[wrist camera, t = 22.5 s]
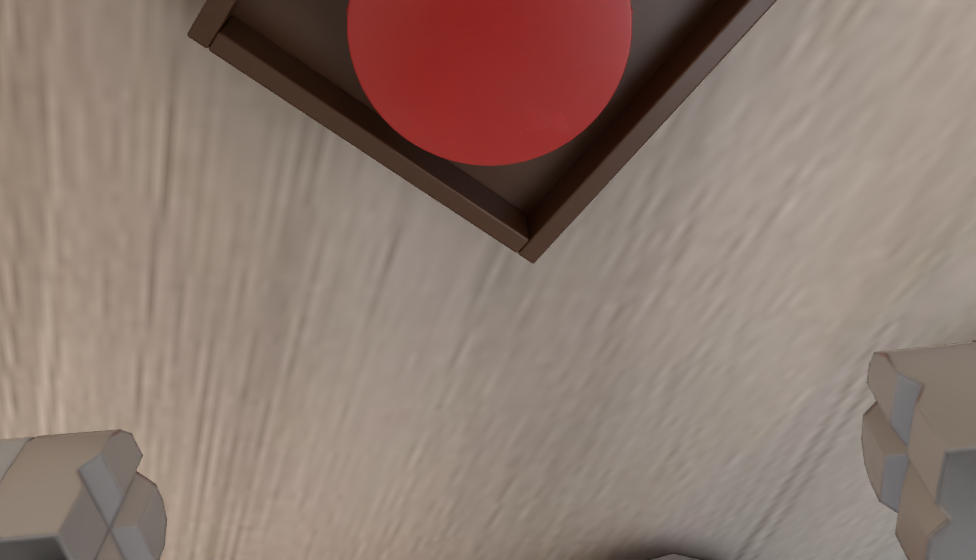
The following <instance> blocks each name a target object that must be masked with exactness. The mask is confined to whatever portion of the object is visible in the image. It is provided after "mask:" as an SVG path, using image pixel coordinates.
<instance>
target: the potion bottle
mask: <svg viewBox="0 0 976 560" xmlns="http://www.w3.org/2000/svg"><path fill="white" fill-rule="evenodd" d="M651 560H699V559H695V558H690V557H686V556H681V555H677V554H670V555H666V556H663V557H659V558H655V559H651Z"/></svg>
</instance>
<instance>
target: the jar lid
mask: <svg viewBox="0 0 976 560" xmlns="http://www.w3.org/2000/svg"><path fill="white" fill-rule="evenodd" d="M346 13H347V39H348V45H349V52H350V56H351V60H352V63H353V67H354V70H355V73H356V75H357V78H358V80H359V82H360V85H361V87H362V89H363V91H364V92H365V94H366V96H367V97H368V99H369V101H370V103H371V104H372V105H373V107H374V108H375V109H376V110H377V112H378V113H379V114H380V116H381V117H382V118H383V119H384V120H385V121H386V122H387V123H388V124H389V125H390V126H391V127H392V128H393V129H394V130H395V131H396V132H398V133H399V134H400V135H402V136H403V137H404V138H405V139H407V140H408V141H410V142H411V143H413V144H415V145H416V146H418V147H420V148H421V149H423V150H425V151H427V152H430V153H432V154H434V155H436V156H439V157H442V158H445V159H448V160H451V161H455V162H460V163H465V164H470V165H484V166H495V165H508V164H514V163H519V162H524V161H528V160H531V159H534V158H537V157H540V156H543V155H545V154H547V153H549V152H552V151H554V150H556V149H558V148H559V147H561V146H563V145H564V144H566V143H568V142H569V141H571V140H572V139H573V138H575V137H576V136H577V135H579V134H580V133H581V132H583V131H584V130H585V129H586V128H587V127H588V126H589V125H590V124H591V123H592V122H593V121H594V120H595V119H596V118H597V117H598V116H599V114H600V113H601V112H602V110H603V109H604V108H605V107H606V105H607V104H608V103H609V101H610V99H611V98H612V96H613V94H614V93H615V91H616V89H617V87H618V85H619V83H620V80H621V78H622V76H623V73H624V71H625V67H626V64H627V61H628V57H629V53H630V47H631V40H632V19H633V18H632V13H633V9H632V7H631V0H349V3H348V6H347V8H346Z"/></svg>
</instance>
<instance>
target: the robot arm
mask: <svg viewBox="0 0 976 560" xmlns="http://www.w3.org/2000/svg"><path fill="white" fill-rule="evenodd" d="M867 384H868V386H869V388H870V389H871V391H872V393H873V395H874V397H875V399H876V400H877V401H876V402H875V403H874V404H873V405H872V406H871V407H870V408H869V409H868V410H867V411H866V413H865V414H864V415H863V424H862V438H861V440H862V448H863V456H864V463H865V467H866V470H867V473H868V477H869V480H870V483H871V485H872V487H873V489H874V491H875V494H876V496H877V498H878V500H879V502H881V503H883V504H884V505H886V506H887V507H889V508H890V509H892V510H893V511H895V512H897V513H898V518H897V525H896V533H895V535H896V537H897V539H898V541H899V543H900V545H901V547H902V549H903V551H904V553H905V555H906V557H907V559H908V560H976V340H973V341H972V342H962V343H953V344H944V345H935V346H925V347H916V348H907V349H898V350H889V351H879V352H874V354H873V356H872V358H871V361H870V363H869V369H868V377H867ZM142 457H143V454H142V453H141V451H140V449H139V447H138V445H137V443H136V441H135V439H134V437H133V435H132V434H131V433H129V432H126V431H123V430H120V429H119V430H106V431H94V432H81V433H69V434H56V435H44V436H37V437H26V438H15V439H4V440H0V560H160V557H161V554H162V552H163V549H164V546H165V536H166V524H167V518H166V513H165V507H164V502H163V499H162V497H161V494H160V492H159V490H158V487H157V485H156V484H155V483H153V482H152V481H150V480H149V479H147V478H146V477H144V476H143V475H142V474H140V473H139V472H137V468H138V466H139V464H140V461H141V459H142Z"/></svg>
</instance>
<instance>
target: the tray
mask: <svg viewBox="0 0 976 560" xmlns="http://www.w3.org/2000/svg"><path fill="white" fill-rule="evenodd" d="M776 1H777V0H631V7H632V9H633V13H632V18H633V19H632V40H631V47H630V53H629V57H628V61H627V64H626V67H625V71H624V73H623V76H622V78H621V80H620V83H619V85H618V87H617V89H616V91H615V93H614V94H613V96H612V98H611V99H610V101H609V103H608V104H607V105H606V107H605V108H604V109H603V110H602V112H601V113H600V114H599V116H598V117H597V118H596V119H595V120H594V121H593V122H592V123H591V124H590V125H589V126H588V127H587V128H586V129H585V130H584V131H583V132H581V133H580V134H579V135H577V136H576V137H575V138H573V139H572V140H571V141H569V142H568V143H566V144H564V145H563V146H561V147H559V148H558V149H556V150H554V151H552V152H549V153H547V154H545V155H543V156H540V157H537V158H534V159H531V160H528V161H524V162H519V163H514V164H508V165H495V166H484V165H470V164H465V163H460V162H455V161H451V160H448V159H445V158H442V157H439V156H436V155H434V154H432V153H430V152H427V151H425V150H423V149H421V148H420V147H418V146H416V145H415V144H413V143H411V142H410V141H408V140H407V139H405V138H404V137H403V136H402V135H400V134H399V133H398V132H396V131H395V130H394V129H393V128H392V127H391V126H390V125H389V124H388V123H387V122H386V121H385V120H384V119H383V118H382V117H381V116H380V114H379V113H378V112H377V110H376V109H375V108H374V107H373V105H372V104H371V103H370V101H369V99H368V97H367V96H366V94H365V92H364V91H363V89H362V87H361V85H360V82H359V80H358V78H357V75H356V73H355V70H354V67H353V63H352V60H351V56H350V52H349V45H348V39H347V13H346V8H347V6H348V3H349V0H206V2H205V4H204V6H203V7H202V9H201V11H200V12H199V14H198V16H197V18H196V19H195V21H194V23H193V24H192V26H191V28H190V30H189V31H188V34H187V35H188V37H190V38H191V39H193V40H194V41H196V42H197V43H199V44H200V45H202V46H203V47H205V48H208V47H209V50H210V51H211V52H212V53H214V54H215V55H217V56H218V57H220V58H222V59H223V60H225V61H226V62H228V63H229V64H231V65H232V66H234V67H235V68H237V69H238V70H240V71H241V72H243V73H244V74H246V75H247V76H249V77H250V78H252V79H253V80H255V81H256V82H258V83H259V84H261V85H262V86H264V87H266V88H267V89H269V90H270V91H272V92H273V93H275V94H276V95H278V96H279V97H281V98H282V99H284V100H285V101H287V102H288V103H290V104H291V105H293V106H294V107H296V108H297V109H299V110H300V111H302V112H303V113H305V114H306V115H308V116H310V117H311V118H313V119H314V120H316V121H317V122H319V123H320V124H322V125H323V126H325V127H326V128H328V129H329V130H331V131H332V132H334V133H335V134H337V135H338V136H340V137H341V138H343V139H344V140H346V141H347V142H349V143H350V144H352V145H354V146H355V147H357V148H358V149H360V150H361V151H363V152H364V153H366V154H367V155H369V156H370V157H372V158H373V159H375V160H376V161H378V162H379V163H381V164H382V165H384V166H385V167H387V168H388V169H390V170H391V171H393V172H394V173H396V174H398V175H399V176H401V177H402V178H404V179H405V180H407V181H408V182H410V183H411V184H413V185H414V186H416V187H417V188H419V189H420V190H422V191H423V192H425V193H426V194H428V195H429V196H431V197H432V198H434V199H435V200H437V201H438V202H440V203H442V204H443V205H445V206H446V207H448V208H449V209H451V210H452V211H454V212H455V213H457V214H458V215H460V216H461V217H463V218H464V219H466V220H467V221H469V222H470V223H472V224H473V225H475V226H476V227H478V228H479V229H481V230H482V231H484V232H486V233H487V234H489V235H490V236H492V237H493V238H495V239H496V240H498V241H499V242H501V243H502V244H504V245H505V246H507V247H508V248H510V249H511V250H513V251H514V252H516V253H517V252H518V254H519V255H520V256H522V257H524V258H525V259H527V260H528V261H530V262H531V263H535V261H536V260H537V259H538V258H539V257H540V256H541V255H542V254H543V253H544V252H545V251H546V250H547V248H548V247H549V246H550V245H551V244H552V243H553V242H554V241H555V240H556V239H557V238H558V237H559V236H560V234H561V233H562V232H563V231H564V230H565V229H566V228H567V227H568V226H569V225H570V224H571V223H572V221H573V220H574V219H575V218H576V217H577V216H578V215H579V214H580V213H581V212H582V211H583V210H584V208H585V207H586V206H587V205H588V204H589V203H590V202H591V201H592V200H593V199H594V198H595V197H596V195H597V194H598V193H599V192H600V191H601V190H602V189H603V188H604V187H605V186H606V185H607V184H608V182H609V181H610V180H611V179H612V178H613V177H614V176H615V175H616V174H617V173H618V172H619V171H620V169H621V168H622V167H623V166H624V165H625V164H626V163H627V162H628V161H629V160H630V159H631V158H632V156H633V155H634V154H635V153H636V152H637V151H638V150H639V149H640V148H641V147H642V146H643V145H644V144H645V142H646V141H647V140H648V139H649V138H650V137H651V136H652V135H653V134H654V133H655V132H656V131H657V129H658V128H659V127H660V126H661V125H662V124H663V123H664V122H665V121H666V120H667V119H668V118H669V116H670V115H671V114H672V113H673V112H674V111H675V110H676V109H677V108H678V107H679V106H680V105H681V103H682V102H683V101H684V100H685V99H686V98H687V97H688V96H689V95H690V94H691V93H692V92H693V90H694V89H695V88H696V87H697V86H698V85H699V84H700V83H701V82H702V81H703V80H704V79H705V77H706V76H707V75H708V74H709V73H710V72H711V71H712V70H713V69H714V68H715V67H716V66H717V65H718V63H719V62H720V61H721V60H722V59H723V58H724V57H725V56H726V55H727V54H728V53H729V52H730V50H731V49H732V48H733V47H734V46H735V45H736V44H737V43H738V42H739V41H740V40H741V39H742V37H743V36H744V35H745V34H746V33H747V32H748V31H749V30H750V29H751V28H752V27H753V26H754V24H755V23H756V22H757V21H758V20H759V19H760V18H761V17H762V16H763V15H764V14H765V13H766V11H767V10H768V9H769V8H770V7H771V6H772V5H773V4H774V3H775V2H776Z"/></svg>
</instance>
